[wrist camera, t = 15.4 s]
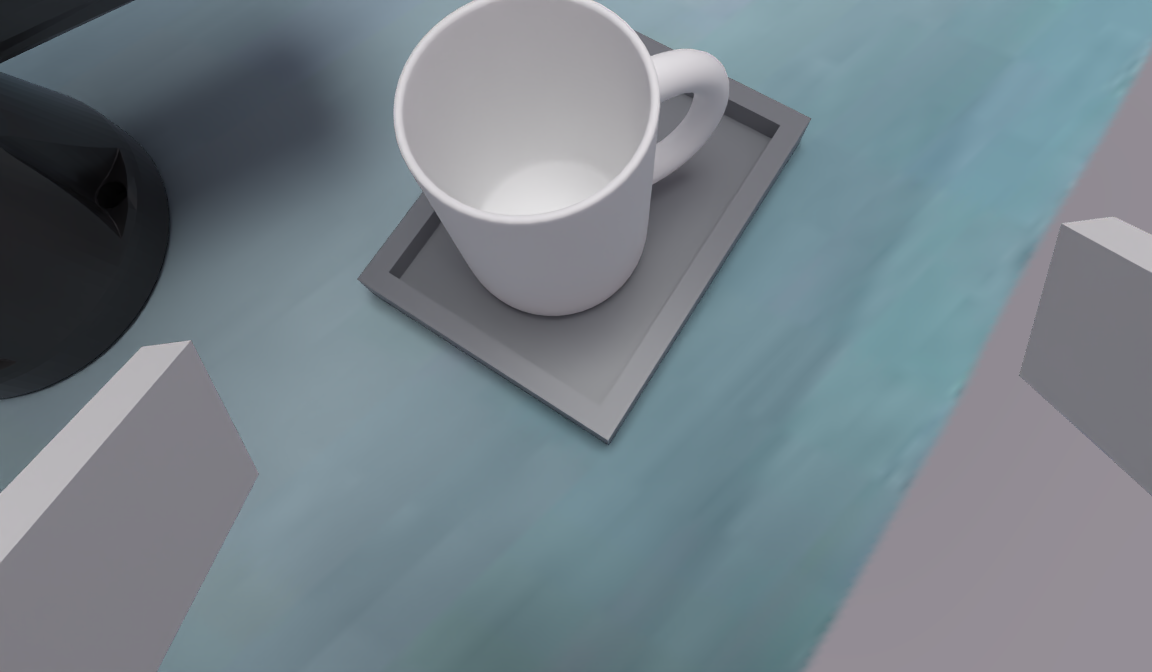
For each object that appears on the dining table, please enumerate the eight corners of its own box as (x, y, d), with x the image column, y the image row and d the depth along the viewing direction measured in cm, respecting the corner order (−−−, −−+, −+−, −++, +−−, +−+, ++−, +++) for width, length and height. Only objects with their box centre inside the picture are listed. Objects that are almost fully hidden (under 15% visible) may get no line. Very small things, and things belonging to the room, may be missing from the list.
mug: (668, 94, 32) (691, -96, 22) (753, 238, 29) (821, 99, 20) (439, 198, 31) (354, 50, 21) (509, 352, 29) (452, 269, 19)
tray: (373, 293, 31) (357, 279, 29) (571, 27, 34) (568, -3, 32) (609, 445, 28) (608, 440, 26) (799, 142, 31) (811, 118, 29)
